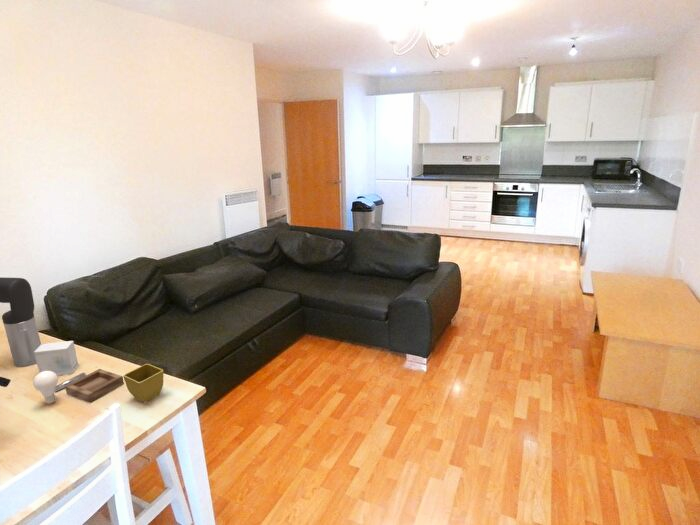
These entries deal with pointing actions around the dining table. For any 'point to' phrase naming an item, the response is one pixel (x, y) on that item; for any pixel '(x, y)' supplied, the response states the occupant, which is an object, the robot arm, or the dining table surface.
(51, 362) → the skincare box
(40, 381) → the lightbulb
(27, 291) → the robot arm
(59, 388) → the pin
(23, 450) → the dining table surface
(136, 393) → the flower pot
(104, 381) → the brown wooden tray
